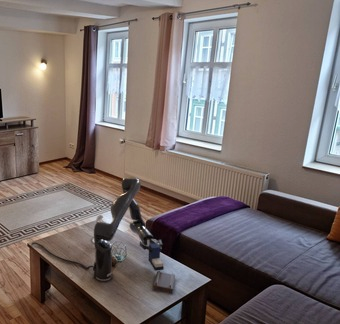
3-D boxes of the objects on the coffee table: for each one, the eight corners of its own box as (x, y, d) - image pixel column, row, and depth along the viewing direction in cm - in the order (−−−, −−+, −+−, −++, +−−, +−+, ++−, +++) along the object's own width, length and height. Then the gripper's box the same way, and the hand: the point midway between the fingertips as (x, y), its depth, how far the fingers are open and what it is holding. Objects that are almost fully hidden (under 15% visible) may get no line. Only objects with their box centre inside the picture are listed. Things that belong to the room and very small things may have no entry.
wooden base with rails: (153, 290, 177) (153, 283, 176) (156, 276, 189) (156, 269, 188) (172, 293, 174) (172, 286, 173) (174, 279, 186) (175, 272, 185)
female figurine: (103, 250, 216) (103, 222, 210) (88, 240, 228) (87, 214, 222) (115, 244, 222) (116, 217, 217) (100, 235, 234) (100, 209, 229)
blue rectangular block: (148, 260, 200) (149, 243, 197) (156, 259, 200) (157, 242, 197) (155, 270, 189) (156, 253, 186) (163, 269, 190) (164, 252, 187)
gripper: (135, 232, 206) (144, 246, 190) (157, 230, 209) (168, 243, 193) (134, 243, 208) (144, 258, 192) (156, 241, 211) (167, 255, 195)
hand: (156, 250), depth 193 cm, fingers closed on blue rectangular block, 5 cm apart
